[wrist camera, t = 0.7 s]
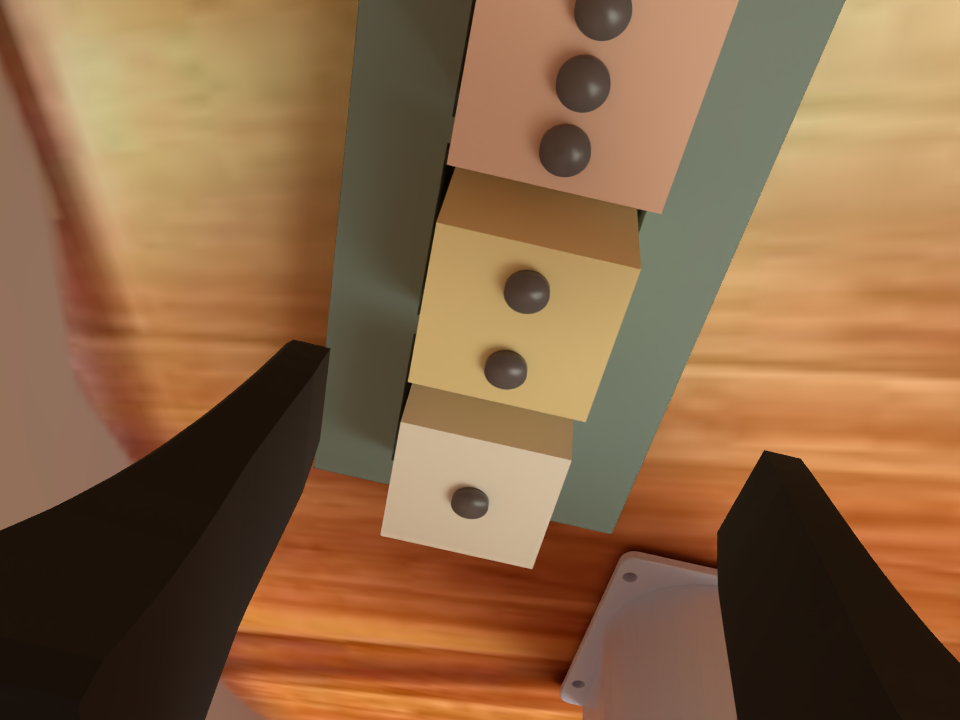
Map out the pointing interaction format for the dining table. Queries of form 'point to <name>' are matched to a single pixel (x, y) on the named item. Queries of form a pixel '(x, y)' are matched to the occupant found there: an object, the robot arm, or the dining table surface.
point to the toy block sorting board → (662, 237)
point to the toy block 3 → (476, 475)
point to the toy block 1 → (587, 93)
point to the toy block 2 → (524, 294)
